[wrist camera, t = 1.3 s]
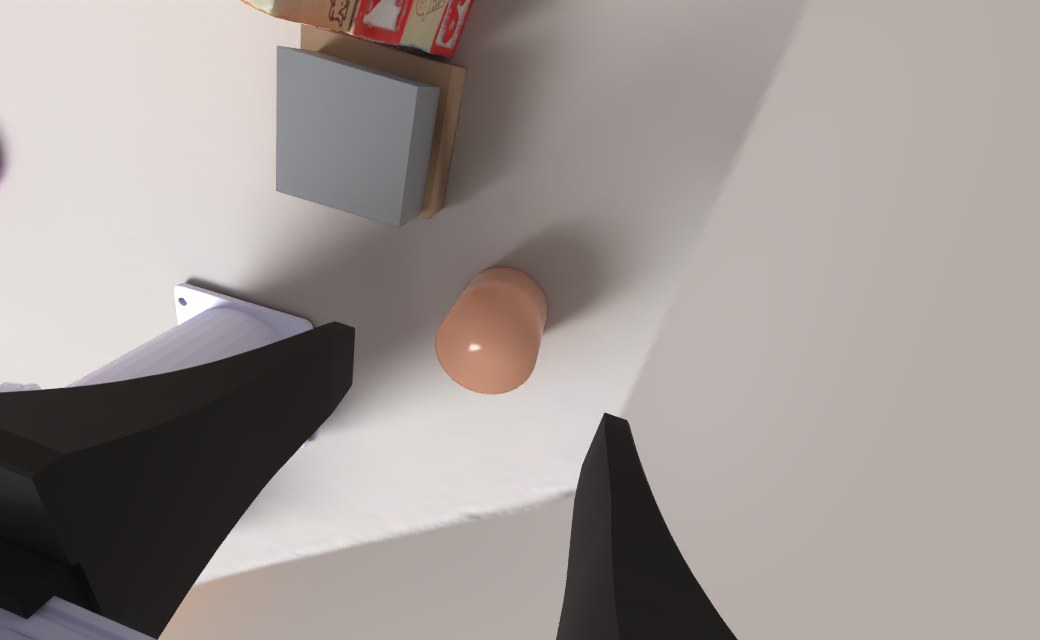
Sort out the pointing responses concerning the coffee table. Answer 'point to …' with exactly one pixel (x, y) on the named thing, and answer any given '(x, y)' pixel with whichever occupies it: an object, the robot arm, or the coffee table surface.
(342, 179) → the tower top
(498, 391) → the terracotta cylinder
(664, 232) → the coffee table surface
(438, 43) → the stack of blocks
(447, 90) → the tower base
